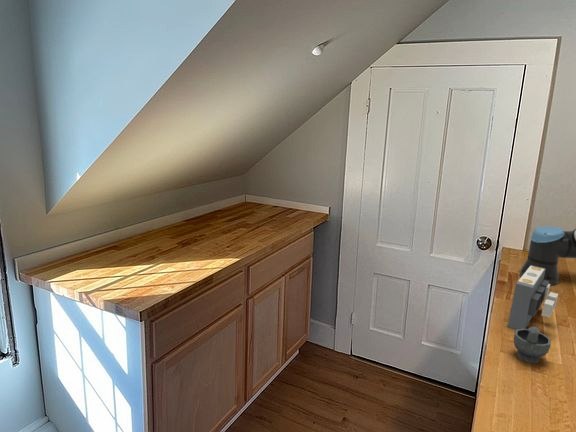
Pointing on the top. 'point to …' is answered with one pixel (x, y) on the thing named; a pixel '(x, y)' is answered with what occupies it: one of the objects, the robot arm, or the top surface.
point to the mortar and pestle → (531, 344)
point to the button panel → (527, 297)
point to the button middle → (553, 298)
